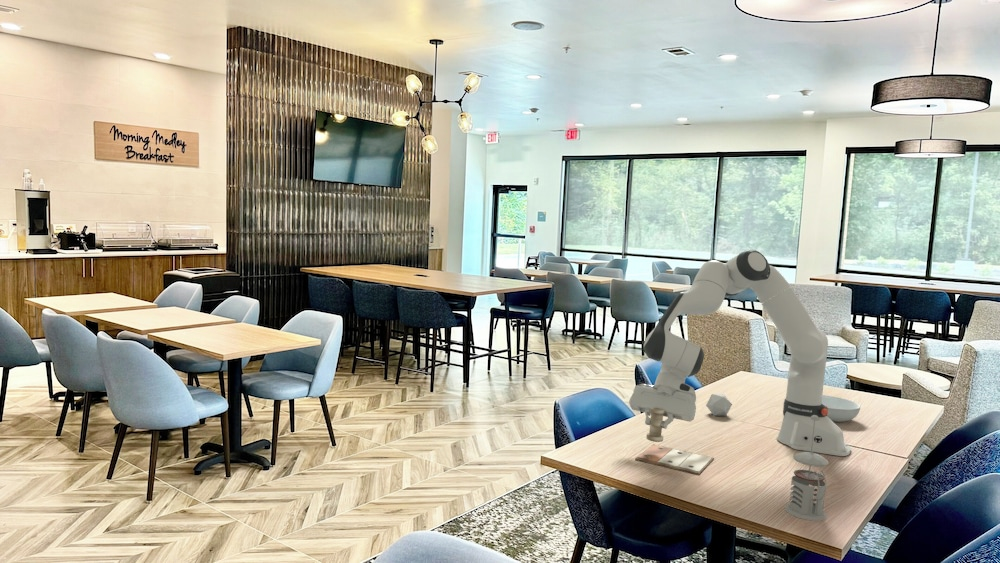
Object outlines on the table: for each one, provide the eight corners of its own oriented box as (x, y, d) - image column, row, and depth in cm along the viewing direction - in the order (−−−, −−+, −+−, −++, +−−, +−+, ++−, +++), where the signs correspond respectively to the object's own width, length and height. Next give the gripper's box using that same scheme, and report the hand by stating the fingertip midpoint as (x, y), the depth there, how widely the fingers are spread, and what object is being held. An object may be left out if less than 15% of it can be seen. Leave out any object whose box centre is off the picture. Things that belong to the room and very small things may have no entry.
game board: (713, 459, 210) (714, 456, 210) (699, 474, 195) (699, 472, 195) (653, 445, 219) (653, 443, 219) (635, 459, 205) (635, 457, 205)
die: (729, 421, 257) (738, 398, 260) (709, 408, 256) (720, 386, 260) (718, 422, 264) (727, 401, 268) (699, 410, 264) (709, 389, 267)
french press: (815, 505, 178) (824, 410, 176) (838, 524, 166) (849, 424, 164) (777, 503, 178) (786, 408, 176) (798, 523, 166) (808, 422, 164)
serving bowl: (789, 415, 267) (791, 398, 267) (813, 408, 281) (815, 392, 281) (845, 429, 252) (847, 411, 251) (867, 421, 266) (869, 404, 265)
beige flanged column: (665, 439, 211) (667, 409, 210) (660, 443, 207) (662, 412, 206) (649, 435, 214) (652, 406, 213) (644, 439, 210) (646, 409, 209)
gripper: (634, 377, 220) (621, 413, 213) (698, 388, 210) (686, 427, 202) (638, 388, 224) (625, 424, 217) (701, 400, 214) (689, 438, 206)
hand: (655, 425), depth 209 cm, fingers closed on beige flanged column, 4 cm apart
